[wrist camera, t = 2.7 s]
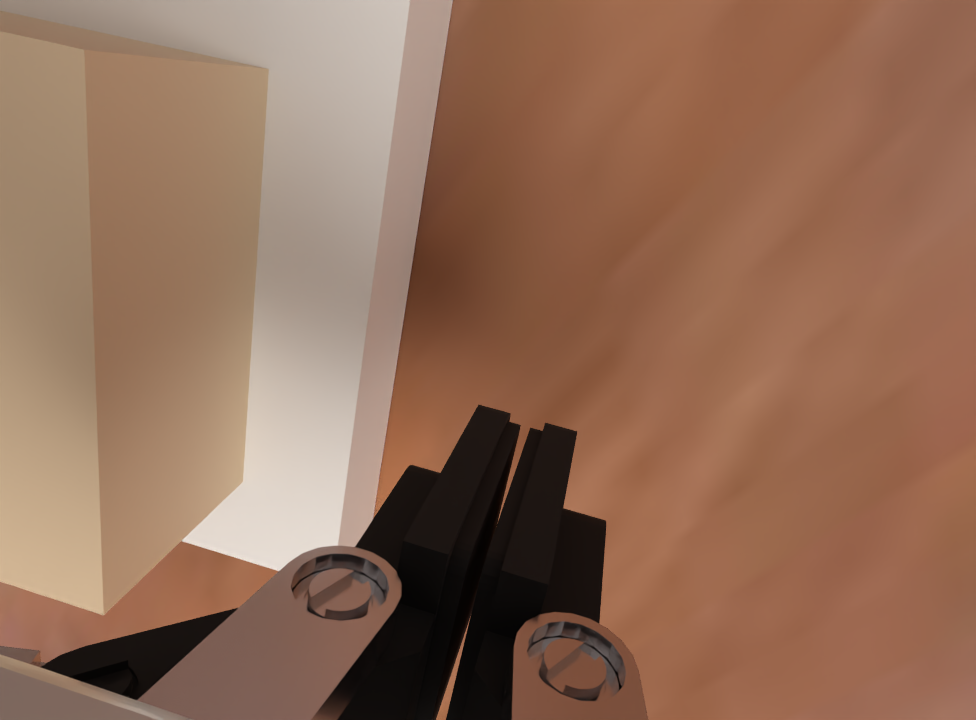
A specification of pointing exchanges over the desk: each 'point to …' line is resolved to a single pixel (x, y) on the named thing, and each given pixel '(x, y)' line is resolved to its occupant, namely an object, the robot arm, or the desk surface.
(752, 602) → the desk surface
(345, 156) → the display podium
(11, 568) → the kraft carton
